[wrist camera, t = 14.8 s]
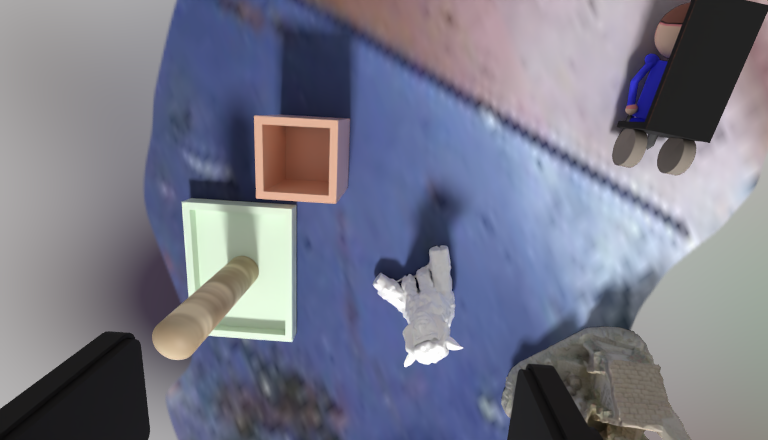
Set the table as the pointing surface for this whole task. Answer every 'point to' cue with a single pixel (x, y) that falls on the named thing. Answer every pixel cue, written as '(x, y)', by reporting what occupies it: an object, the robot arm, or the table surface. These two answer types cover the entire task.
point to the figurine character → (687, 80)
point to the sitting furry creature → (424, 307)
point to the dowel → (204, 309)
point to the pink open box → (301, 157)
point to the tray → (257, 241)
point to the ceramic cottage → (609, 384)
